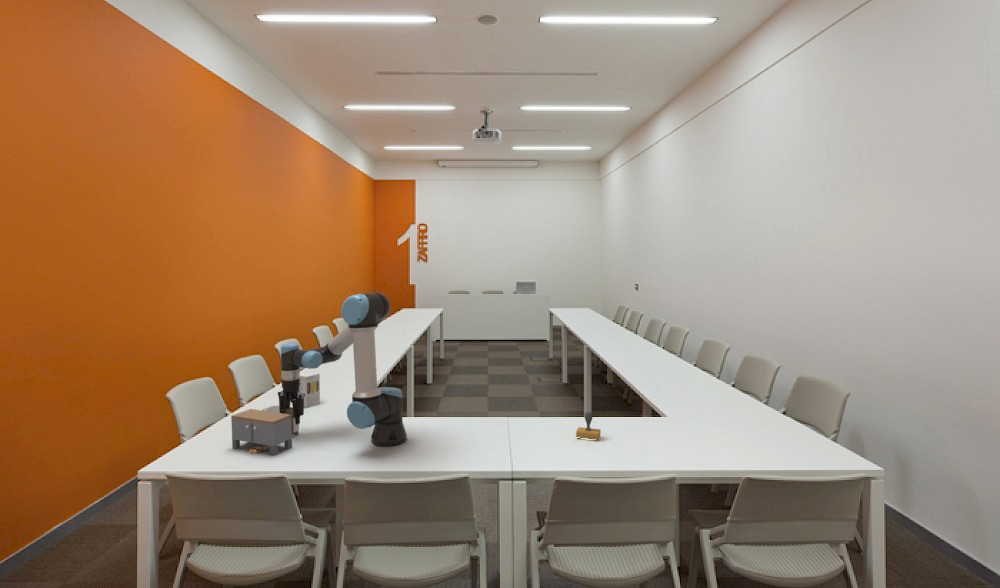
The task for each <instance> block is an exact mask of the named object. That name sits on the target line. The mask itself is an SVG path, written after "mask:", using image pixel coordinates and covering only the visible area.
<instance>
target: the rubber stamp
mask: <svg viewBox="0 0 1000 588" xmlns="http://www.w3.org/2000/svg"><path fill="white" fill-rule="evenodd" d="M584 420H585V423H586V427H581V426H579V427H577V429H576V430H575V431H576V432H575V438H576V437H580V438H588V439H596V440H599V438H600V439H601V429H600V428H591V423H592V420H593V414H592V412H591V411H586V412H585V413H584ZM599 441H600V440H599Z"/></svg>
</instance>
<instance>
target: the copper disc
mask: <svg viewBox="0 0 1000 588" xmlns="http://www.w3.org/2000/svg"><path fill="white" fill-rule="evenodd" d="M261 452H262V450H261V448H260V447H254V448H253V447H251V448H249V449H248V453H249V454H251V455H255V454H254V453H256V454H259V453H261Z"/></svg>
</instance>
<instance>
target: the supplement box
mask: <svg viewBox="0 0 1000 588" xmlns="http://www.w3.org/2000/svg"><path fill="white" fill-rule="evenodd" d="M320 375H321V374H320V373H319V372H313V371H307V372H301V373H300V377H299V379H300V387H299V391H300V393H302V394H305V397H304V409H308V408H311V406H312V407H314V405H315V406H318V405H317V404H319V405H320V404H321V395H320V394H321V390H320V389H321V388H320V387H321V386H320V383H321V382H320V379H321V377H320Z"/></svg>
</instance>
